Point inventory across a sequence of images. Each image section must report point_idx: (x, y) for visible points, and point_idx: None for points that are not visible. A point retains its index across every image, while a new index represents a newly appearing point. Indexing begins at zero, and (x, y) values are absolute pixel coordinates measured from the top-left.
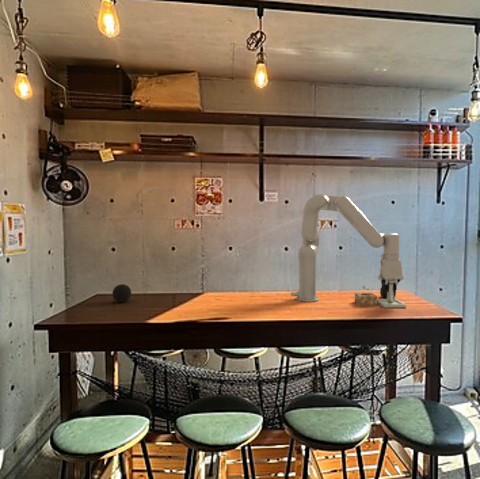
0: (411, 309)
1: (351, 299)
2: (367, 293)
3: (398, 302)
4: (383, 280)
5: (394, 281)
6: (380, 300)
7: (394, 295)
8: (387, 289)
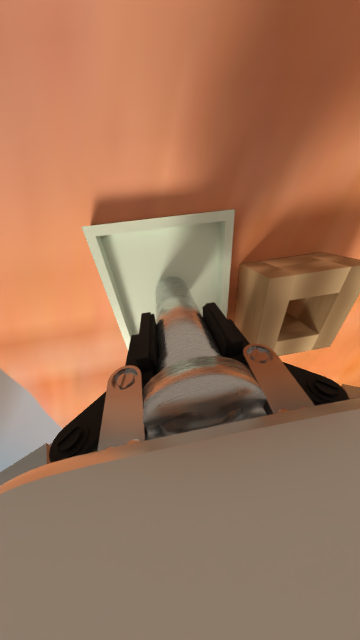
0: (53, 178)
1: None
2: (281, 342)
3: (125, 314)
4: (320, 388)
5: (157, 390)
6: None
7: None
8: (219, 311)
